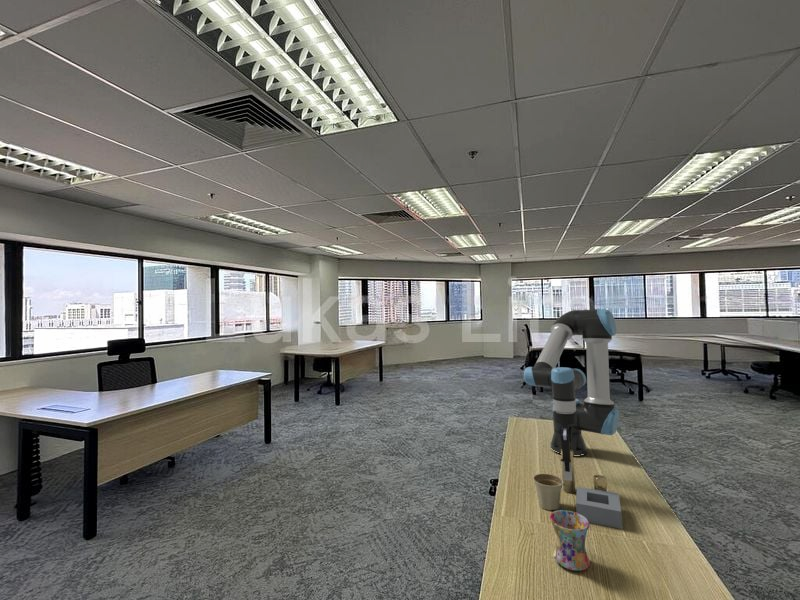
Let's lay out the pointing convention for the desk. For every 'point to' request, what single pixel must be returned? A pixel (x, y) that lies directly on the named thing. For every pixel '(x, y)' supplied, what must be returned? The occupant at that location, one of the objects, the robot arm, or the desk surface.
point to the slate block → (599, 507)
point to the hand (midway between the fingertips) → (568, 476)
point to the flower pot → (548, 490)
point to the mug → (570, 539)
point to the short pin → (600, 482)
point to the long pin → (570, 485)
